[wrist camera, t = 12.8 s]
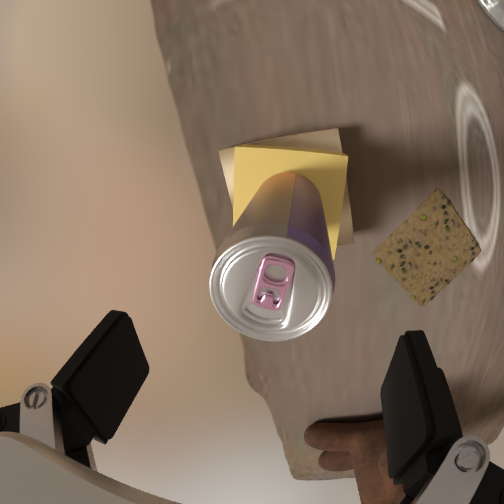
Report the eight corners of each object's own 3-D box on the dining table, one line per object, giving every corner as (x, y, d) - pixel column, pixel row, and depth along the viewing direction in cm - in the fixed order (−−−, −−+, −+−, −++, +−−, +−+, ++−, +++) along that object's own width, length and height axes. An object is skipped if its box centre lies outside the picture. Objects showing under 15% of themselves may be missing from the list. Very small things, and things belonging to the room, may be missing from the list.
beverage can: (329, 181, 25) (357, 254, 11) (311, 241, 27) (311, 356, 14) (264, 163, 25) (215, 215, 12) (250, 224, 28) (198, 325, 14)
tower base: (226, 148, 31) (218, 150, 28) (334, 127, 28) (337, 128, 25) (250, 246, 36) (245, 257, 33) (350, 232, 33) (354, 243, 30)
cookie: (436, 183, 28) (439, 185, 28) (480, 249, 30) (484, 252, 29) (368, 252, 34) (369, 255, 33) (420, 306, 35) (422, 310, 35)
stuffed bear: (294, 403, 48) (262, 585, 17) (419, 377, 40) (443, 569, 9) (325, 462, 58) (310, 581, 27) (414, 445, 50) (420, 568, 19)
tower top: (241, 144, 28) (234, 146, 25) (343, 152, 26) (348, 156, 24) (239, 237, 32) (232, 248, 29) (331, 247, 31) (334, 259, 28)
